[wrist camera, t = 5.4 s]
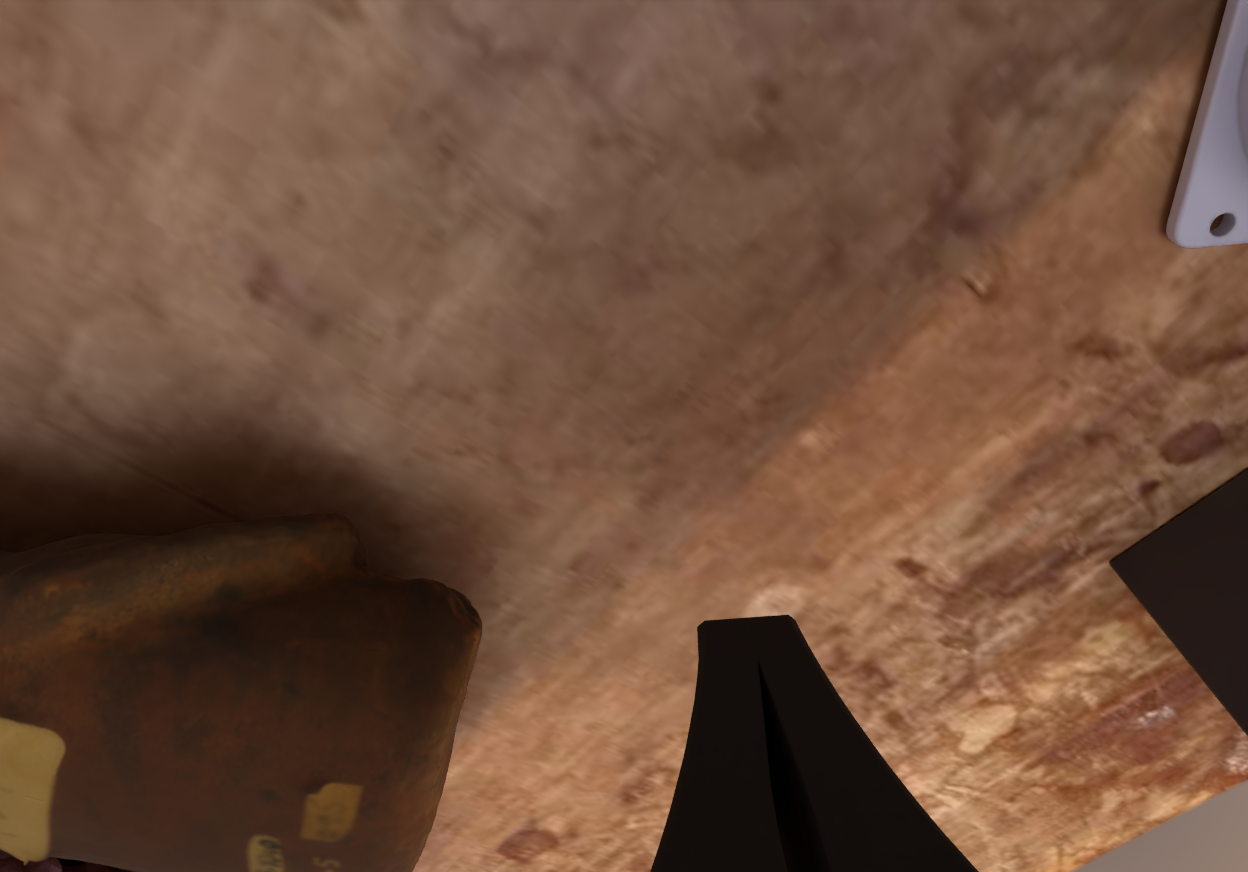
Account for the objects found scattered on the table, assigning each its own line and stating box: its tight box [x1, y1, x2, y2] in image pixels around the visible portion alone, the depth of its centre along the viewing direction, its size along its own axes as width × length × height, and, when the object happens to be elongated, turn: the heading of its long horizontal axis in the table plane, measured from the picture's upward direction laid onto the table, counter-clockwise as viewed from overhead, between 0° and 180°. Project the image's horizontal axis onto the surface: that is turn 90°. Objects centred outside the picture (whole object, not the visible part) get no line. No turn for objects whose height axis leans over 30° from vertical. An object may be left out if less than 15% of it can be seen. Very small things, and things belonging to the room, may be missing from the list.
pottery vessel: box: [0, 514, 482, 872], centre depth 19 cm, size 12×20×8 cm, turn 74°
